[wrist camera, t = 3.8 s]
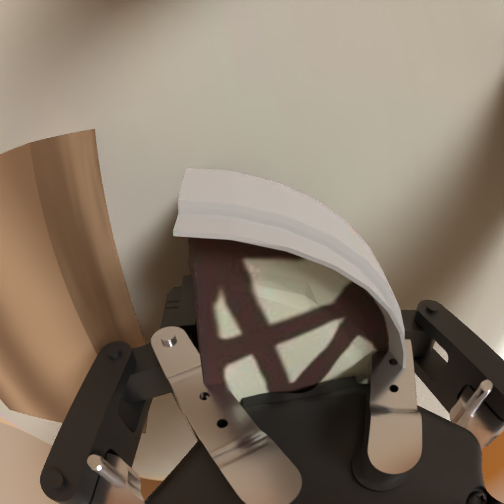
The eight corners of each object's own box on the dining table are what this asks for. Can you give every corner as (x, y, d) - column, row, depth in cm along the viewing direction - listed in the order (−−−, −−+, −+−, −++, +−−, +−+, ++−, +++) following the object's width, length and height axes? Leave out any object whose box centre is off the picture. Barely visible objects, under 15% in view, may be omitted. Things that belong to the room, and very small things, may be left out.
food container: (303, 336, 19) (349, 470, 10) (210, 341, 18) (216, 488, 9) (330, 144, 13) (490, 210, 4) (204, 139, 13) (169, 194, 4)
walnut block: (97, 128, 12) (29, 142, 7) (155, 363, 19) (145, 433, 14) (-38, 177, 11) (-95, 208, 6) (33, 357, 18) (9, 409, 13)
